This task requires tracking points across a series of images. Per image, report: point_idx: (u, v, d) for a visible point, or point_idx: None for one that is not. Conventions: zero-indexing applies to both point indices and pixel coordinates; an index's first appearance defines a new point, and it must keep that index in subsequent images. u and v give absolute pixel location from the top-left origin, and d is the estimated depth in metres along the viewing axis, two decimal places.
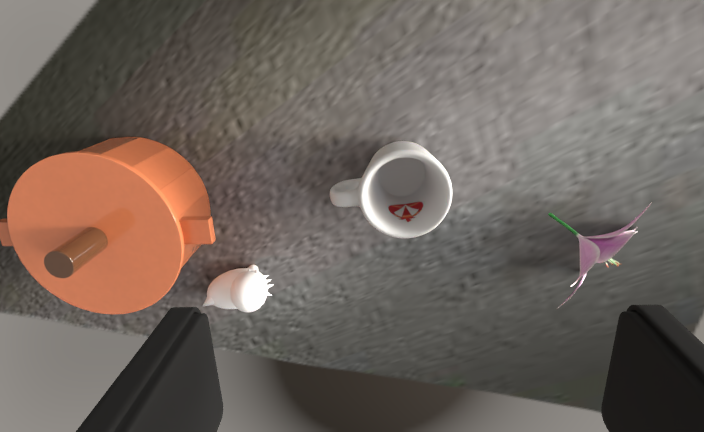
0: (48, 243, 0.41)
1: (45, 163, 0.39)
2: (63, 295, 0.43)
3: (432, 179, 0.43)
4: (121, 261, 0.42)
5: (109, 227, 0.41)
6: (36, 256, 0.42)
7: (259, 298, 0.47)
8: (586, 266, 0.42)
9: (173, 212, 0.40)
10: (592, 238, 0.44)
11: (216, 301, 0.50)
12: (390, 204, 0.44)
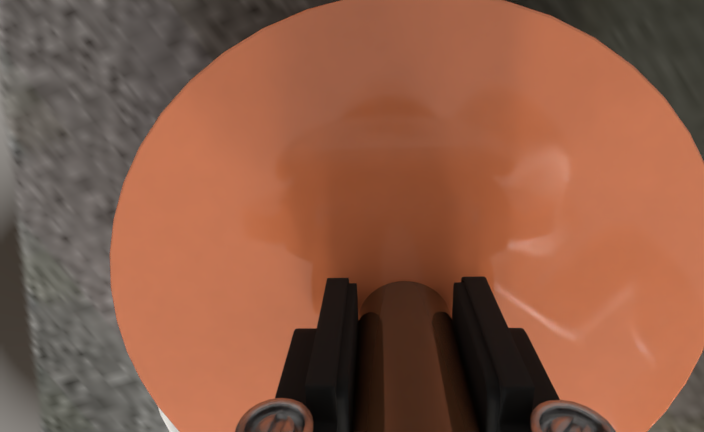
0: (388, 156, 0.11)
1: None
2: (160, 160, 0.11)
3: None
4: None
5: None
6: (329, 91, 0.10)
7: None
8: None
9: None
10: None
11: None
12: None
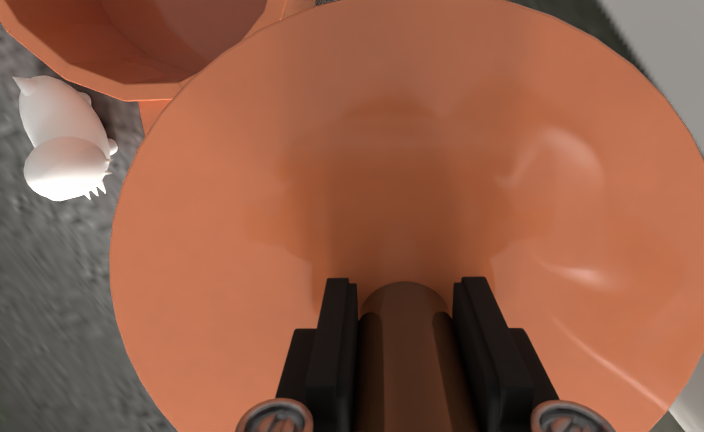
0: (388, 156, 0.11)
1: None
2: (160, 161, 0.11)
3: None
4: None
5: None
6: (328, 91, 0.10)
7: (58, 198, 0.27)
8: None
9: None
10: None
11: (29, 102, 0.27)
12: None
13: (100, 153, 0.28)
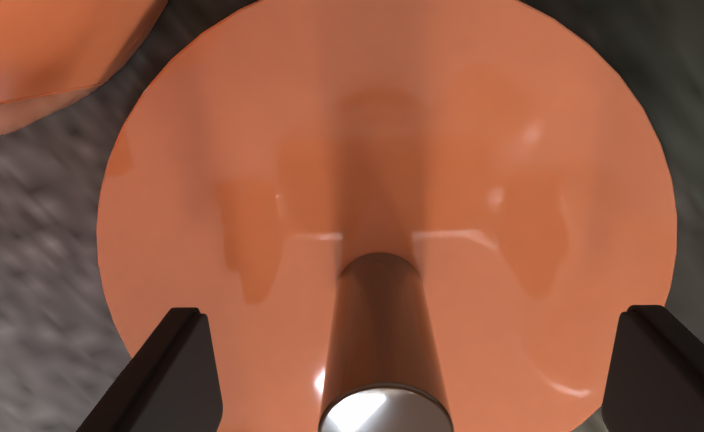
0: (361, 132, 0.11)
1: (659, 195, 0.11)
2: (144, 137, 0.11)
3: None
4: (305, 350, 0.14)
5: None
6: (304, 69, 0.11)
7: None
8: None
9: None
10: None
11: None
12: None
13: None
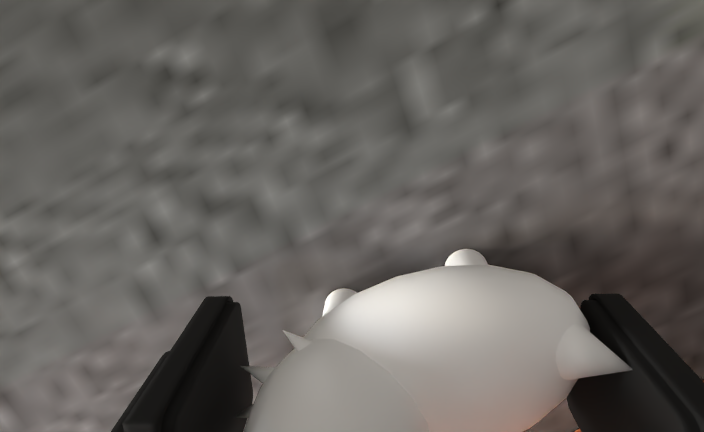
0: None
1: None
2: None
3: None
4: None
5: None
6: None
7: None
8: None
9: None
10: None
11: (539, 372, 0.09)
12: None
13: None
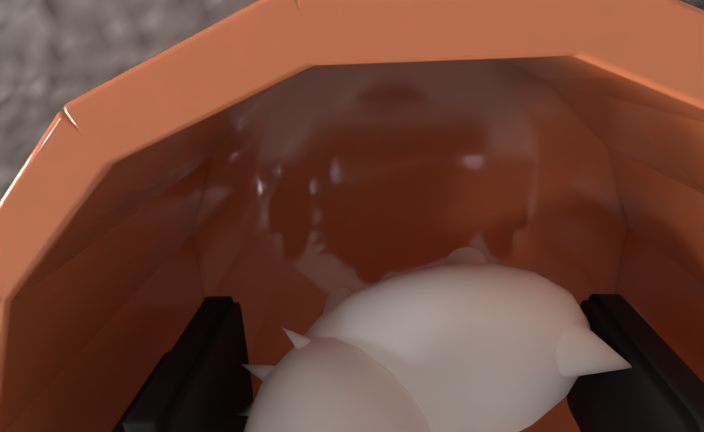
0: None
1: None
2: None
3: None
4: None
5: None
6: None
7: None
8: None
9: None
10: None
11: (540, 370, 0.09)
12: None
13: None
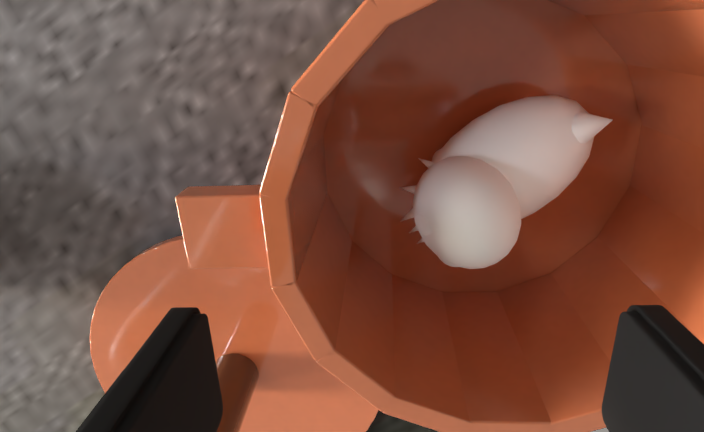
0: (318, 366, 0.24)
1: None
2: None
3: None
4: None
5: None
6: None
7: (429, 238, 0.16)
8: None
9: None
10: None
11: (565, 139, 0.16)
12: None
13: None
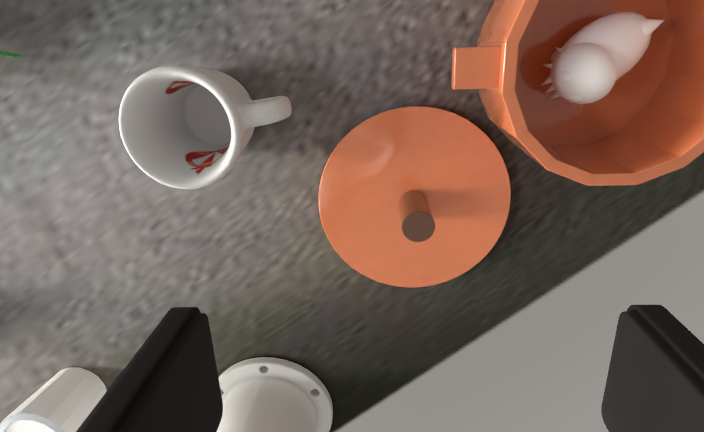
0: (467, 198, 0.37)
1: (442, 278, 0.40)
2: (472, 132, 0.36)
3: (164, 126, 0.34)
4: (389, 178, 0.37)
5: (394, 216, 0.38)
6: (487, 183, 0.37)
7: (568, 82, 0.30)
8: None
9: None
10: None
11: (638, 32, 0.30)
12: None
13: None
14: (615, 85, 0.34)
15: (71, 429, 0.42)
